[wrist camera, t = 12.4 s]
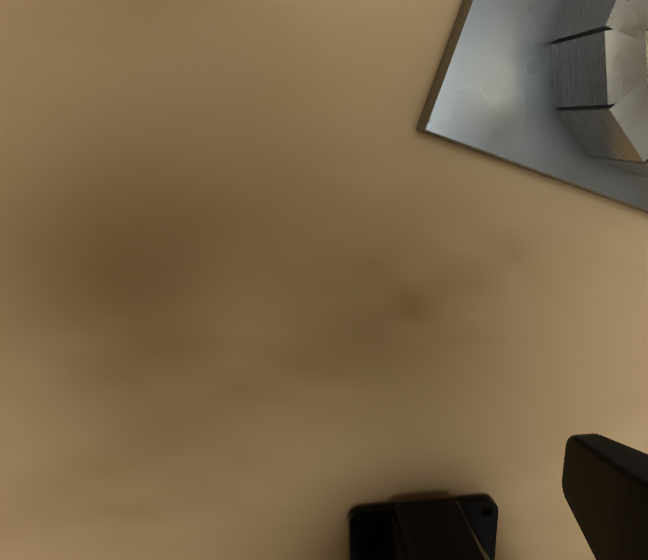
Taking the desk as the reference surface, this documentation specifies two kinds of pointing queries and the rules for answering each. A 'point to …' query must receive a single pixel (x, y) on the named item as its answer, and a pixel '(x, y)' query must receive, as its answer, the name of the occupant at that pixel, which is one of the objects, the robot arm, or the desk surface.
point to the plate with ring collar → (550, 90)
